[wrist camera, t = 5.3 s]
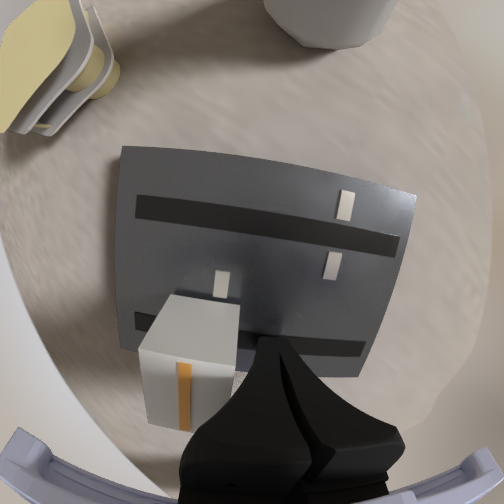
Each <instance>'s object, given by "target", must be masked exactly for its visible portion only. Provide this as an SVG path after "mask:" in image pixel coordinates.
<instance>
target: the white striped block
mask: <svg viewBox="0 0 504 504" xmlns="http://www.w3.org/2000/svg"><path fill="white" fill-rule="evenodd" d="M239 312H240V305H235V304H229V303H222V302H215V301H209V300H203V299H196V298H190V297H185V296H179V295H173V294H171V295H170V296H169V298H168V299H167V301H166V303H165V304H164V306H163V308H162V309H161V311H160V312H159V314H158V316H157V317H156V319H155V321H154V322H153V324H152V326H151V327H150V329H149V331H148V332H147V334H146V336H145V337H144V339H143V341H142V343H141V344H140V346H139V348H138V350H139V361H140V370H141V378H142V386H143V393H144V400H145V406H146V412H147V418H148V423H150V424H154V425H158V426H162V427H167V428H171V429H176V430H181V431H186V432H191V433H195V432H196V430H197V429H198V427H200V426H201V425H202V424H204V423H205V422H206V421H207V420H209V419H210V418H211V417H212V416H214V415H215V414H216V413H217V412H218V411H219V410H220V409H221V408H222V407H223V406H224V405H225V404H226V403H227V402H228V401H229V399H230V396H231V391H232V385H233V379H234V373H235V367H236V353H237V340H238V326H239Z"/></svg>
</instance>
